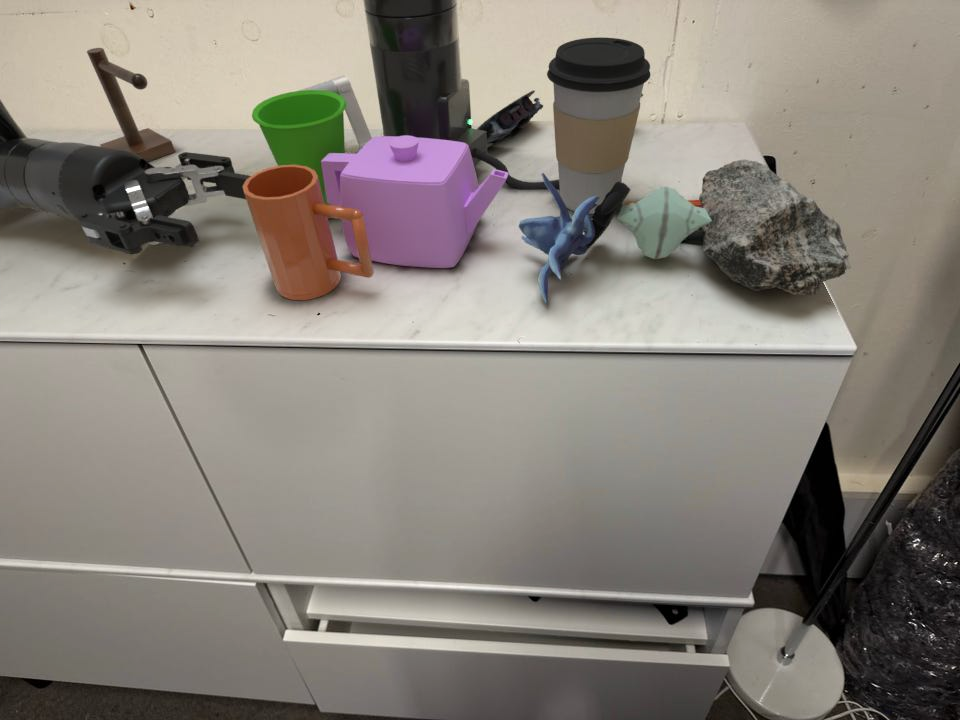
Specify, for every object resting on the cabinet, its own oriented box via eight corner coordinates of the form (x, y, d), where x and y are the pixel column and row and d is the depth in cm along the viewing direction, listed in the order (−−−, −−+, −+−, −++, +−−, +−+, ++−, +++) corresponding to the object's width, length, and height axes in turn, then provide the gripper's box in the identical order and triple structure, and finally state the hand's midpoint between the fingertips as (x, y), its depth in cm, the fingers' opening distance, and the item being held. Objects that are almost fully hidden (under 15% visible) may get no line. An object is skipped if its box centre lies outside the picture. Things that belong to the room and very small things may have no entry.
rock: (892, 270, 51) (866, 199, 44) (795, 348, 53) (757, 292, 47) (749, 179, 64) (712, 113, 57) (676, 245, 66) (633, 190, 60)
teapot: (519, 221, 64) (519, 122, 57) (494, 280, 56) (491, 175, 49) (358, 205, 68) (339, 111, 61) (315, 258, 60) (288, 158, 53)
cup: (378, 194, 69) (361, 93, 62) (340, 236, 63) (316, 129, 56) (308, 184, 72) (284, 86, 64) (264, 224, 65) (232, 120, 58)
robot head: (611, 267, 57) (619, 200, 52) (610, 242, 60) (618, 177, 55) (701, 271, 56) (718, 203, 51) (696, 246, 59) (712, 179, 54)
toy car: (478, 122, 71) (494, 145, 72) (547, 75, 76) (562, 97, 76) (454, 153, 79) (468, 173, 80) (517, 108, 83) (531, 128, 84)
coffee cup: (642, 187, 68) (664, 39, 57) (618, 230, 61) (638, 73, 51) (560, 174, 71) (567, 31, 61) (530, 213, 65) (532, 61, 54)
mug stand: (104, 155, 80) (55, 52, 71) (152, 138, 83) (110, 38, 75) (154, 188, 73) (106, 77, 64) (205, 167, 76) (165, 60, 68)
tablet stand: (325, 181, 72) (308, 109, 66) (289, 161, 76) (271, 92, 71) (384, 156, 76) (373, 86, 70) (347, 139, 80) (334, 71, 75)
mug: (262, 293, 56) (227, 192, 50) (299, 257, 60) (271, 160, 54) (360, 316, 53) (337, 212, 47) (393, 277, 57) (376, 177, 51)
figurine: (551, 322, 53) (480, 278, 56) (621, 250, 59) (555, 214, 62) (570, 239, 46) (488, 193, 48) (649, 166, 52) (571, 129, 54)
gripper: (7, 183, 53) (151, 212, 48) (131, 119, 63) (262, 137, 58) (52, 256, 58) (187, 289, 53) (160, 187, 68) (283, 209, 63)
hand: (226, 210), depth 56 cm, fingers open, 8 cm apart
